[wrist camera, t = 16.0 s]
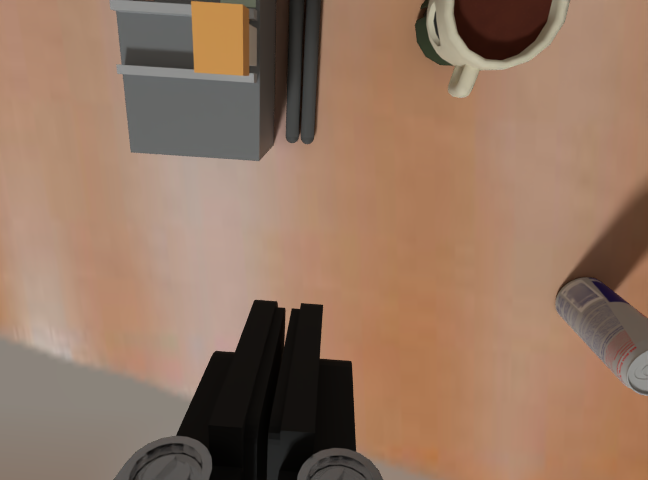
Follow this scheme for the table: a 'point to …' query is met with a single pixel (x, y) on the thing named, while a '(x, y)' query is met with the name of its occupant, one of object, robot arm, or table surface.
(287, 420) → the robot arm
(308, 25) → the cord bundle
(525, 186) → the table surface
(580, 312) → the energy drink
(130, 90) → the grey box
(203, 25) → the switch
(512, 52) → the character mug
